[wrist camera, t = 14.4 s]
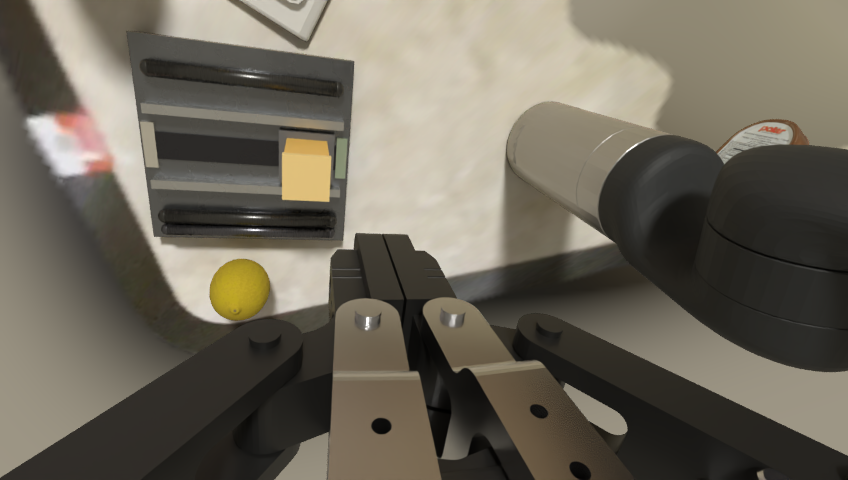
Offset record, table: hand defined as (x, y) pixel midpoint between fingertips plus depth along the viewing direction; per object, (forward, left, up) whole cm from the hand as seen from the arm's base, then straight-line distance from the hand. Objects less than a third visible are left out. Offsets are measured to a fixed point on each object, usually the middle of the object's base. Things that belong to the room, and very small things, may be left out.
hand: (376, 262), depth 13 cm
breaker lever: (+2, +5, -31) cm, 31 cm away
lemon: (+8, +18, -33) cm, 39 cm away
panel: (+7, +5, -33) cm, 34 cm away
